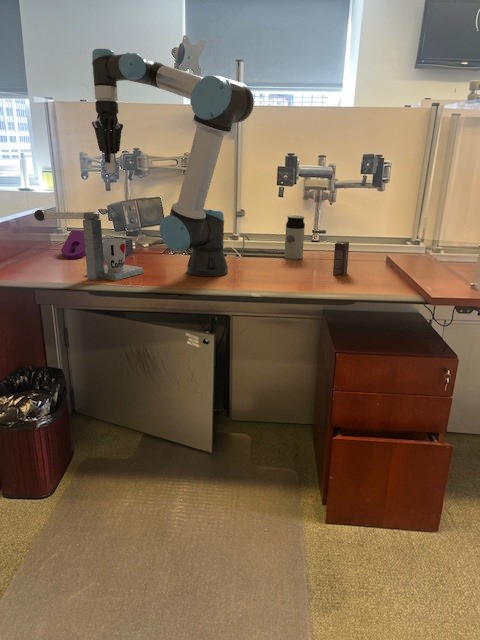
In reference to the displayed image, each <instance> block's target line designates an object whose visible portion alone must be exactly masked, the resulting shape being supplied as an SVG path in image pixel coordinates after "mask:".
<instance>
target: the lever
mask: <svg viewBox="0 0 480 640" xmlns="http://www.w3.org/2000/svg"><path fill="white" fill-rule="evenodd" d="M33 216H34V218H35V219H36V221H39V222H42V221H45V220H97V219H98V220H101V218H100V212H98V211H85V212H83V211H82V212H81V211H80V212H79V211H76V212H75V211H71V212H70V211H44V210H43V209H37V210H35V212H34V214H33Z"/></svg>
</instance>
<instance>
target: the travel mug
mask: <svg viewBox="0 0 480 640" xmlns="http://www.w3.org/2000/svg"><path fill="white" fill-rule="evenodd" d="M286 217H287V221H286V224H285V235H284V236H285V237H284V238H285V239H284V255H283V257H284V258H285V259H287V260H294V261H295V260H301V259H303V253H304V243H305V227H306V224H305V221H304V220H305V217H306V216H304V215H300V214H299V215H297V214H290V215H287V216H286Z"/></svg>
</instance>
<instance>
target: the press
mask: <svg viewBox="0 0 480 640" xmlns="http://www.w3.org/2000/svg"><path fill="white" fill-rule="evenodd" d="M82 225H83V226H82V228H83V231H84V240H85V252H86V253H85V261H86V262H85V263H86V269H85V274H86V276H87V280H90V281H93V282H94V281H96V282H97V281H101V280H110V281H114V282H115V281H120V280H124V279H127V278H131V277H133V276H134V277H135V276H138V275H141V274H144V267H140V266H135V265H130V264H124V265H123V269H120V270H109V269H108V267H107V265H106V264H105V258H104V254H103V244H102V240H103V233H102V231H103V230H102V219H97V220H85V219H82Z"/></svg>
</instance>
